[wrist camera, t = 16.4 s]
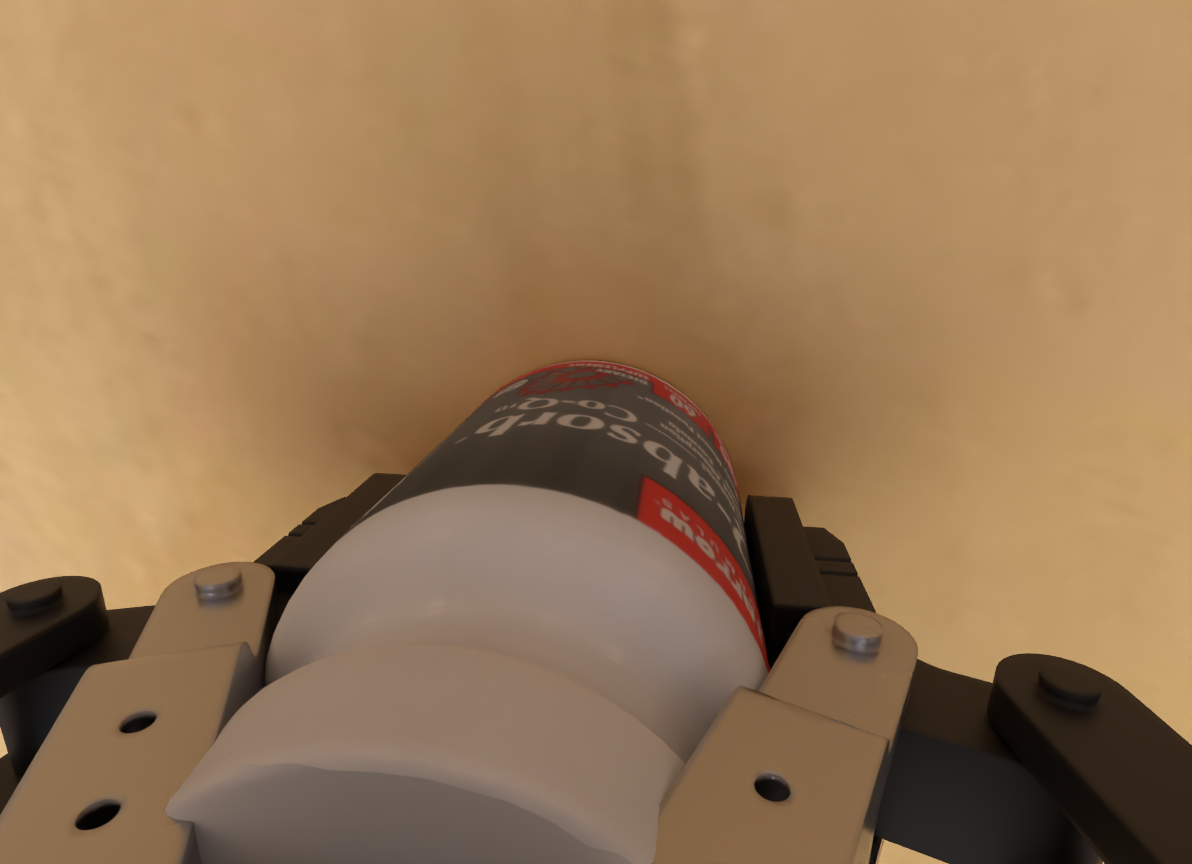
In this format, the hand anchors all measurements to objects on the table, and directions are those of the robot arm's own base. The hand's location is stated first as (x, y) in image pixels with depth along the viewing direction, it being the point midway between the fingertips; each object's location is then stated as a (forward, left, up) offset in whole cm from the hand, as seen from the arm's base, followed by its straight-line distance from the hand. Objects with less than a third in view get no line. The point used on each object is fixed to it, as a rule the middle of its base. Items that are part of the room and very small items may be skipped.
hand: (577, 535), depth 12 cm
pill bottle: (0, 0, -2) cm, 2 cm away
